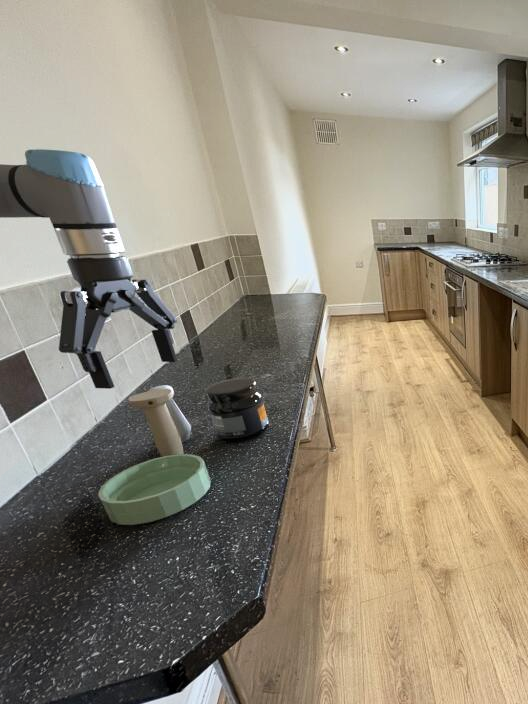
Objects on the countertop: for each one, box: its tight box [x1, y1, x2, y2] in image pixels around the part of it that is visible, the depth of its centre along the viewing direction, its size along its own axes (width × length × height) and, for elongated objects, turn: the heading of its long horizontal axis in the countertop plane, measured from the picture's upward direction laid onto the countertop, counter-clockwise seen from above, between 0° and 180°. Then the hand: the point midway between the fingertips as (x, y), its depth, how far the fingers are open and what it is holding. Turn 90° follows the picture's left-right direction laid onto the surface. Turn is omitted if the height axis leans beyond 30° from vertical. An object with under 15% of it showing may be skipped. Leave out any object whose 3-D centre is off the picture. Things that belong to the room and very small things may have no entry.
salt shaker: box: [147, 384, 192, 444], centre depth 90 cm, size 6×6×13 cm
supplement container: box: [204, 377, 270, 443], centre depth 93 cm, size 10×10×12 cm
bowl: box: [97, 453, 212, 526], centre depth 72 cm, size 14×14×5 cm
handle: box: [127, 389, 185, 457], centre depth 82 cm, size 5×6×15 cm
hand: (140, 373), depth 77 cm, fingers open, 13 cm apart
